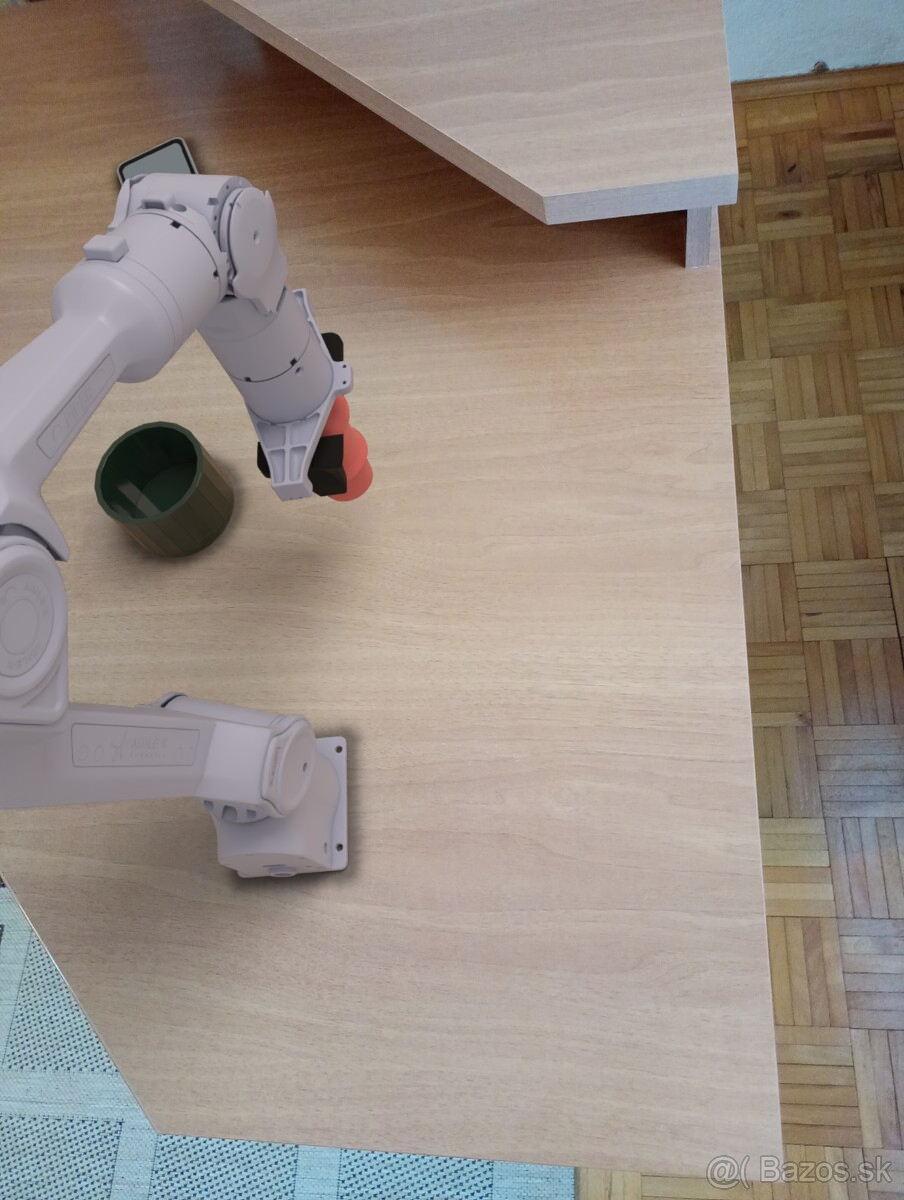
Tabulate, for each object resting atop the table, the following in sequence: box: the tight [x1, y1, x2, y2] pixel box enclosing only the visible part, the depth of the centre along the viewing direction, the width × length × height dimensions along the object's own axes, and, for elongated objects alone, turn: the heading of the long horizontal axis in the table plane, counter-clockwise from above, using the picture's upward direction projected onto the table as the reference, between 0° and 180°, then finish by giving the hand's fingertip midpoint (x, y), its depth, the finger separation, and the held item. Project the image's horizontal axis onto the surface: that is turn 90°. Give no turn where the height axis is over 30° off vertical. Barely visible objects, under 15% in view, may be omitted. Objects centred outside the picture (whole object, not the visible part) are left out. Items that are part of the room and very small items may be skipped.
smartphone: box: [116, 136, 200, 186], centre depth 102 cm, size 7×1×15 cm
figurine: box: [321, 395, 374, 503], centre depth 71 cm, size 5×5×15 cm
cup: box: [93, 420, 235, 559], centre depth 86 cm, size 9×9×6 cm
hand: (333, 456), depth 75 cm, fingers closed on figurine, 5 cm apart
